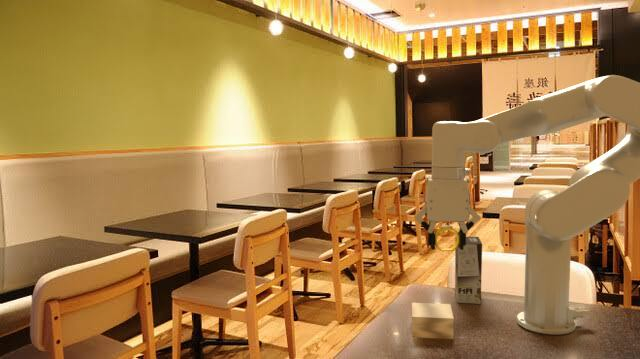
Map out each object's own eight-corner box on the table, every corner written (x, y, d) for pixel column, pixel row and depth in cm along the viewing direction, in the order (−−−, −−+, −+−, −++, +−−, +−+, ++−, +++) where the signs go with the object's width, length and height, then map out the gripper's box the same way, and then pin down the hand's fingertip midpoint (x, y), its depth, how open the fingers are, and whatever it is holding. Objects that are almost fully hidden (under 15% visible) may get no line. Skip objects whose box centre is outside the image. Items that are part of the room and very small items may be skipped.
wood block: (450, 324, 124) (450, 304, 123) (453, 340, 115) (453, 318, 114) (411, 322, 125) (411, 302, 124) (412, 338, 116) (412, 316, 116)
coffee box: (481, 304, 135) (482, 243, 134) (456, 303, 137) (457, 243, 135) (478, 292, 144) (479, 236, 142) (454, 291, 146) (455, 235, 144)
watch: (437, 253, 123) (435, 229, 122) (433, 250, 126) (431, 226, 125) (461, 250, 123) (460, 226, 123) (457, 248, 126) (456, 224, 125)
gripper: (480, 172, 125) (478, 244, 128) (409, 172, 126) (408, 244, 128) (489, 175, 118) (487, 252, 120) (413, 175, 119) (412, 252, 121)
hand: (446, 247), depth 124 cm, fingers closed on watch, 6 cm apart
